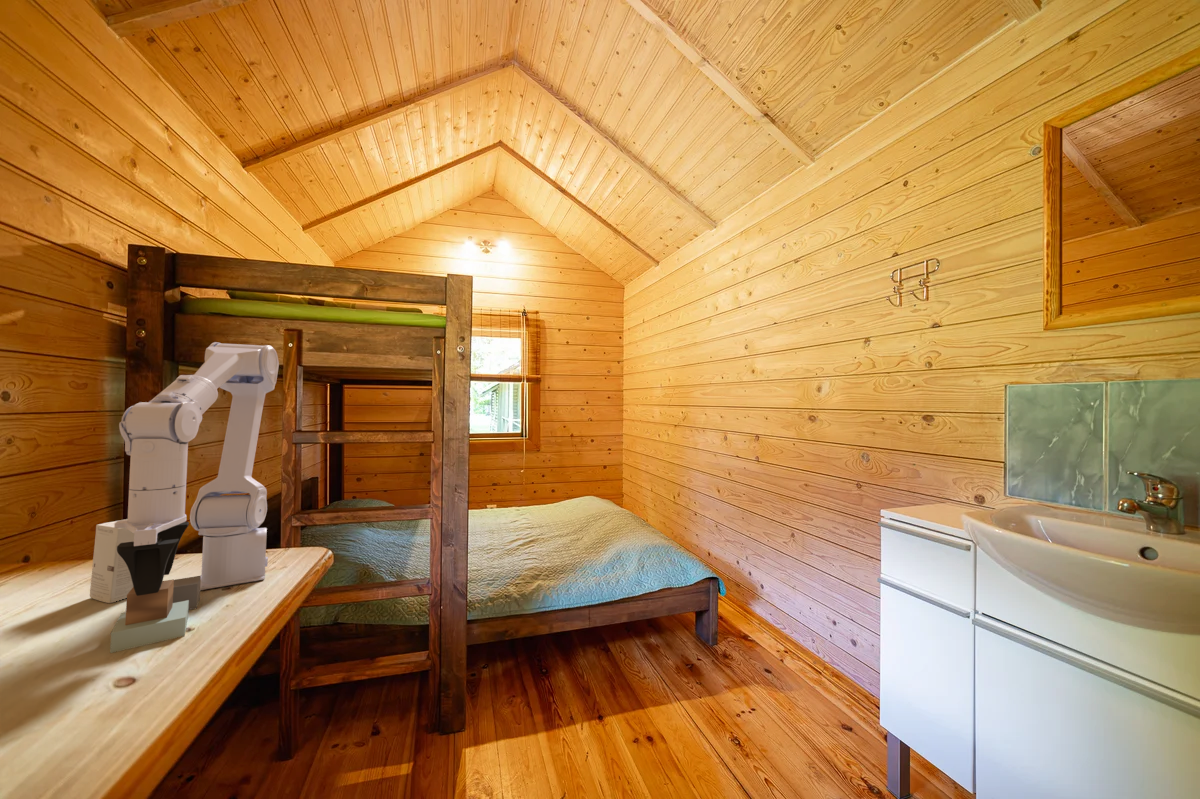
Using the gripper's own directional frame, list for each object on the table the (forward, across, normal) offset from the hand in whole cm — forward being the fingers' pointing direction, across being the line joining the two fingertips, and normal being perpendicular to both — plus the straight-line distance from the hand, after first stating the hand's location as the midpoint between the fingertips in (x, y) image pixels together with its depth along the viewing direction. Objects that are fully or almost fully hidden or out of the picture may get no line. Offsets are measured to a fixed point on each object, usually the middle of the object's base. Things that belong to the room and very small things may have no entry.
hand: (154, 583), depth 62 cm
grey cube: (+7, -9, +2) cm, 12 cm away
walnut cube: (+4, 0, 0) cm, 4 cm away
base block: (+7, 0, 0) cm, 7 cm away
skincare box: (+7, -20, -7) cm, 22 cm away
